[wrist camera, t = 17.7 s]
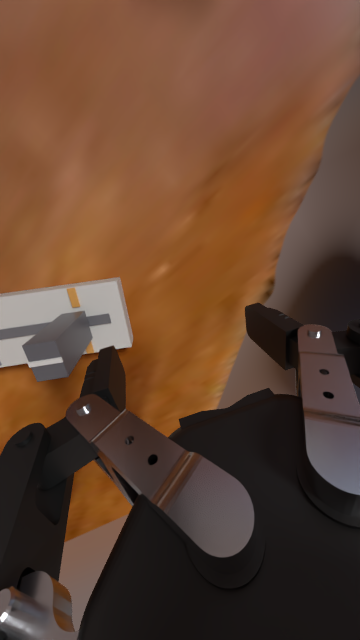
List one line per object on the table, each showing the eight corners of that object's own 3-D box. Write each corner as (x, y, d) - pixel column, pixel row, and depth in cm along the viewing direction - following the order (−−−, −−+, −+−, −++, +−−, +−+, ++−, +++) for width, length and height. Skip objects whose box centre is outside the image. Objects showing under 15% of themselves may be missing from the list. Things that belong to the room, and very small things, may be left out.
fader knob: (72, 338, 31) (36, 382, 21) (63, 311, 29) (20, 346, 20) (95, 334, 31) (68, 377, 21) (87, 308, 29) (54, 341, 20)
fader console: (-20, 361, 34) (-37, 374, 31) (-52, 301, 30) (-75, 307, 27) (133, 338, 35) (131, 347, 32) (119, 277, 32) (116, 281, 29)
